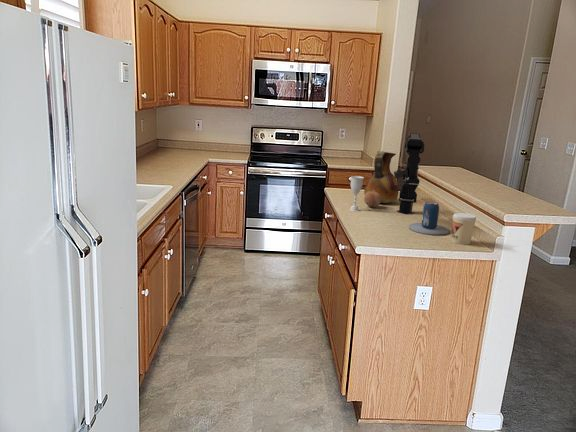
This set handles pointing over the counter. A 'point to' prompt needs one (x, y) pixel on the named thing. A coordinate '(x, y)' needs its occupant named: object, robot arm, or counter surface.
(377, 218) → the counter surface
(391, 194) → the ceramic pitcher
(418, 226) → the rubber mat
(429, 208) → the soda can
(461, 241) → the coffee cup
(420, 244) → the counter surface
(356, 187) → the chalice
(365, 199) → the onion
